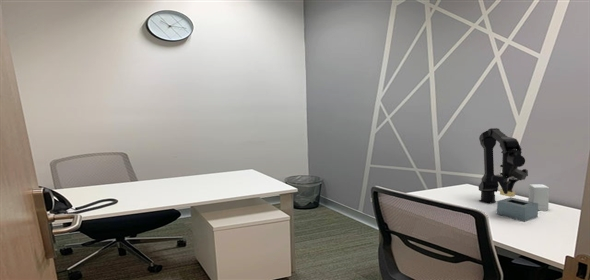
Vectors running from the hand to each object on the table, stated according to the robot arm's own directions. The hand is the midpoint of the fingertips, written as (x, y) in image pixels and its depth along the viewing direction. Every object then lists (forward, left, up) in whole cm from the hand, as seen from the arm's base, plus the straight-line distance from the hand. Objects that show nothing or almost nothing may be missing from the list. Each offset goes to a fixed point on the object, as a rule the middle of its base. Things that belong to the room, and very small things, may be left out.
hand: (507, 193), depth 195 cm
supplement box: (+4, +22, -12) cm, 25 cm away
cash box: (+4, +2, -11) cm, 12 cm away
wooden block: (0, 0, -1) cm, 1 cm away
